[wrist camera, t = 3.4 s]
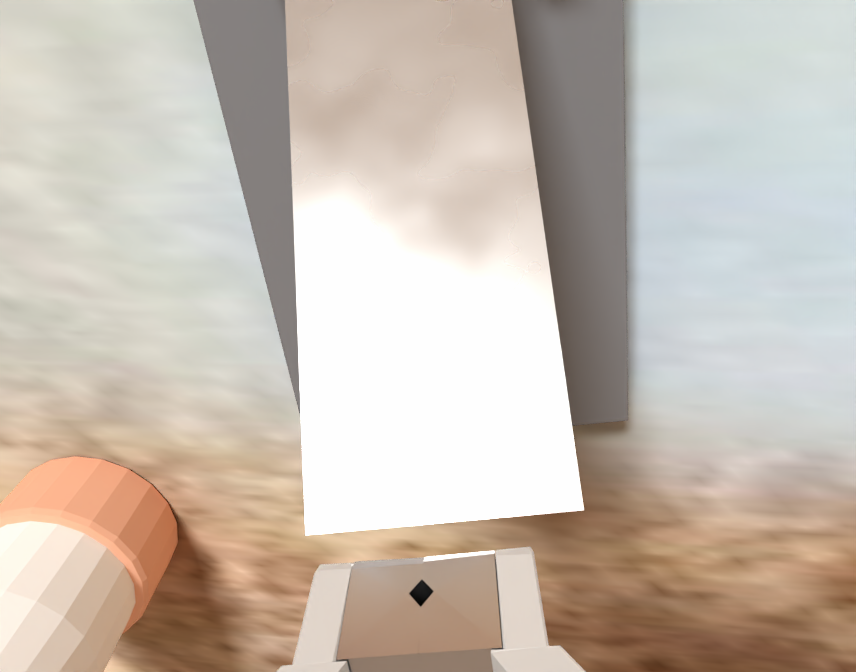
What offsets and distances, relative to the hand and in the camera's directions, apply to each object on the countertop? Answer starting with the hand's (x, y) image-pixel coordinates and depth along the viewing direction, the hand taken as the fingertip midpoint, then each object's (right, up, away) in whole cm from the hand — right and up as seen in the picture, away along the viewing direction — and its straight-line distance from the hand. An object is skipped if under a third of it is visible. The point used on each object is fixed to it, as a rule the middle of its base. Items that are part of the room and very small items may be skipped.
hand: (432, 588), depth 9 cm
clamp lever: (0, +8, +6) cm, 10 cm away
